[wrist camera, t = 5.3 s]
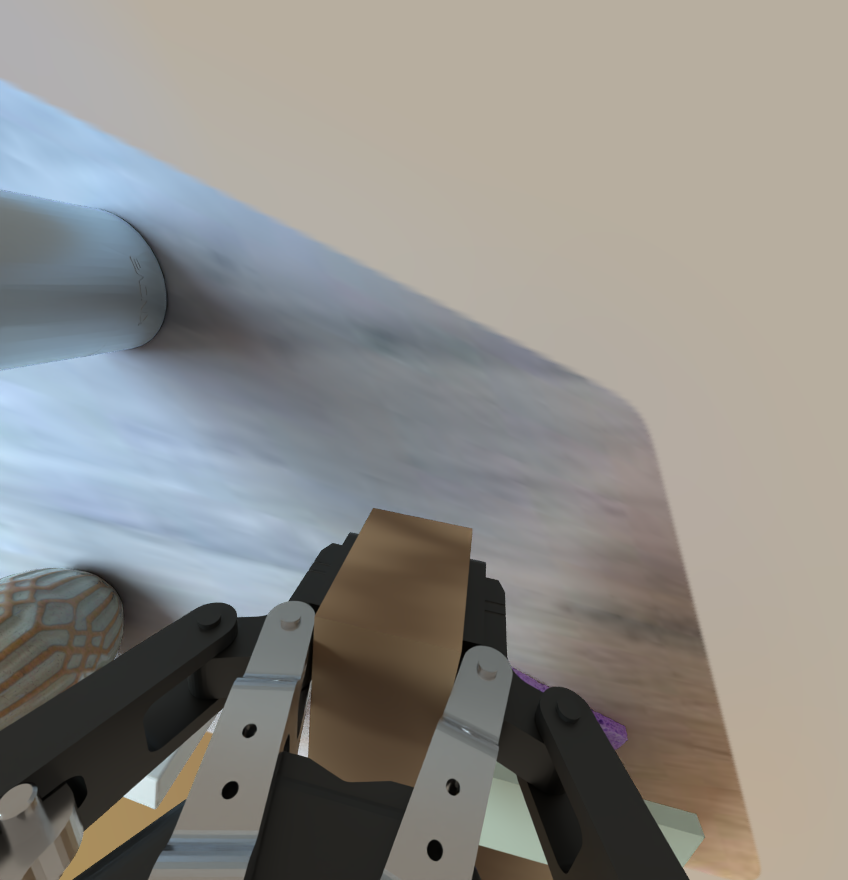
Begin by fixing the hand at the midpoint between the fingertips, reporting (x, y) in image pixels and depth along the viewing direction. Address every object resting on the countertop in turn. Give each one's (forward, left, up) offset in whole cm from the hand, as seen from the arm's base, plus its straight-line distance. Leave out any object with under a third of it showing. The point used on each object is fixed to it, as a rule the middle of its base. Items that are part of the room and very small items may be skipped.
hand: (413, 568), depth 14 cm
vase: (-33, -25, -15) cm, 44 cm away
